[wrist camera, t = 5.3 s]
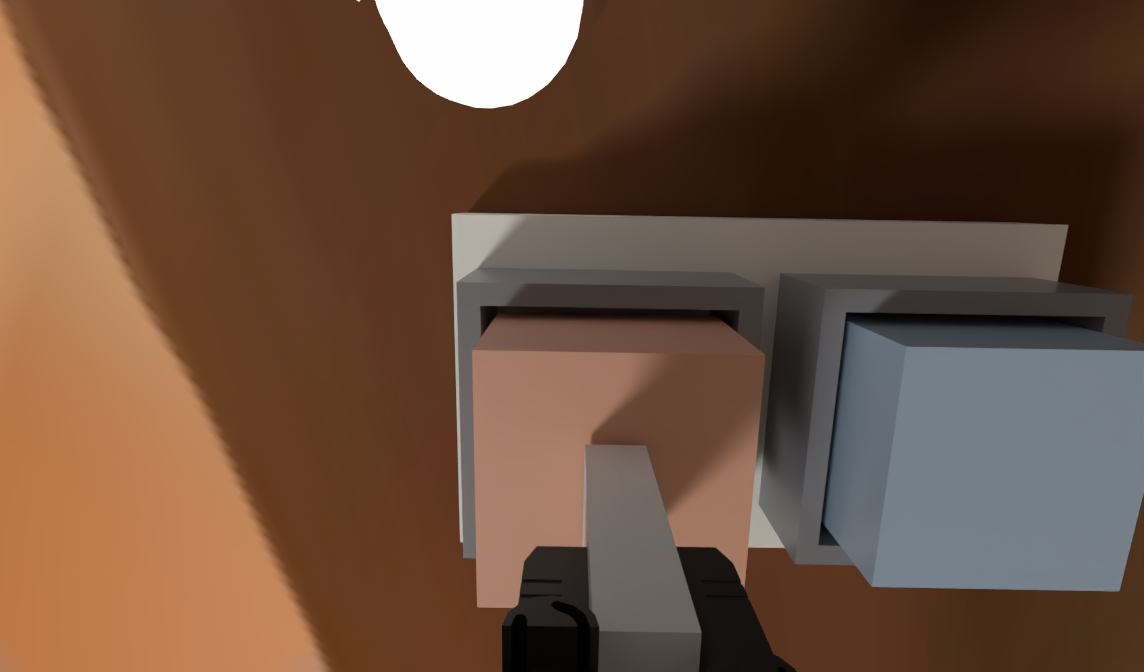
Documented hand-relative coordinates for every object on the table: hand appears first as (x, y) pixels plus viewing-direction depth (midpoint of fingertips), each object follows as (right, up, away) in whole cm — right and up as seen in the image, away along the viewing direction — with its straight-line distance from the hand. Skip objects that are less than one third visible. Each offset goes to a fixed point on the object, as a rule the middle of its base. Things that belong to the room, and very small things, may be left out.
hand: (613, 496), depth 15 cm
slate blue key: (+11, +1, +6) cm, 13 cm away
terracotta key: (0, +1, +5) cm, 5 cm away
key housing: (+6, +2, +11) cm, 12 cm away
